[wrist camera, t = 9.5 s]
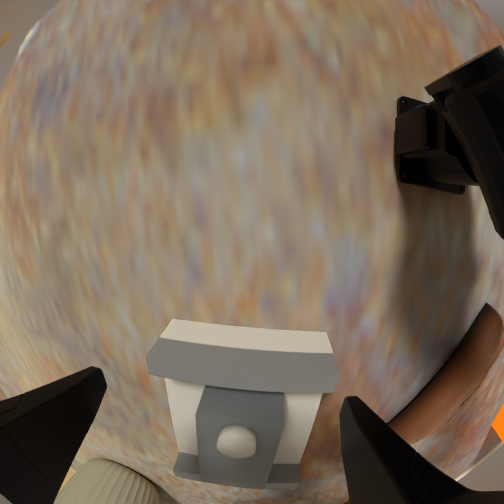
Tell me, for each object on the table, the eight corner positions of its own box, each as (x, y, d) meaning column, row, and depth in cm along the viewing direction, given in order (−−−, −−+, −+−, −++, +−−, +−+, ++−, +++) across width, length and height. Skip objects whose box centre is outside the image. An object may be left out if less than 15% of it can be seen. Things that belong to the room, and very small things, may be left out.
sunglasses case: (416, 441, 23) (413, 472, 17) (379, 415, 26) (371, 445, 21) (511, 328, 19) (533, 341, 13) (475, 296, 22) (492, 303, 16)
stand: (326, 331, 20) (340, 375, 15) (295, 450, 24) (297, 489, 19) (172, 318, 21) (145, 356, 15) (187, 439, 25) (175, 475, 19)
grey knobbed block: (266, 456, 20) (263, 499, 15) (208, 449, 21) (197, 491, 16) (283, 385, 18) (284, 439, 13) (208, 376, 18) (190, 427, 13)
